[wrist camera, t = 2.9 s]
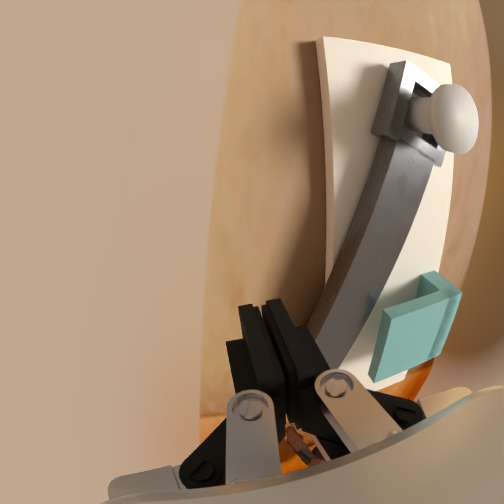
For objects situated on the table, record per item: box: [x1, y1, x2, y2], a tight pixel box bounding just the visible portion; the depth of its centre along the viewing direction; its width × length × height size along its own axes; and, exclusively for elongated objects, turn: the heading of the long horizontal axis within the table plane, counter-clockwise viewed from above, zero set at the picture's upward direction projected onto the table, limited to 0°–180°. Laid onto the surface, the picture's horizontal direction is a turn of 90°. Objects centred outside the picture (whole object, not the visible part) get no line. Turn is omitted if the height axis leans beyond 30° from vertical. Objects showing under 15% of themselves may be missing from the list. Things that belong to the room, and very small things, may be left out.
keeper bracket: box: [368, 270, 462, 383], centre depth 18 cm, size 6×6×3 cm
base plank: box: [315, 36, 479, 391], centre depth 16 cm, size 28×10×5 cm, turn 6°
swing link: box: [306, 60, 446, 369], centre depth 15 cm, size 20×4×2 cm, turn 164°
